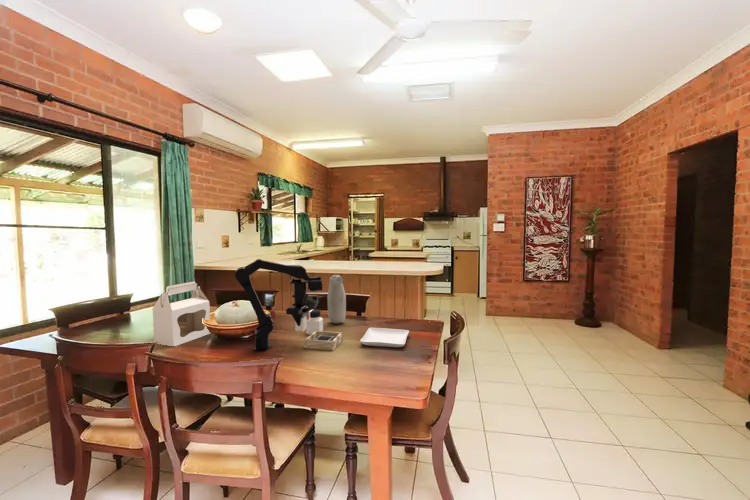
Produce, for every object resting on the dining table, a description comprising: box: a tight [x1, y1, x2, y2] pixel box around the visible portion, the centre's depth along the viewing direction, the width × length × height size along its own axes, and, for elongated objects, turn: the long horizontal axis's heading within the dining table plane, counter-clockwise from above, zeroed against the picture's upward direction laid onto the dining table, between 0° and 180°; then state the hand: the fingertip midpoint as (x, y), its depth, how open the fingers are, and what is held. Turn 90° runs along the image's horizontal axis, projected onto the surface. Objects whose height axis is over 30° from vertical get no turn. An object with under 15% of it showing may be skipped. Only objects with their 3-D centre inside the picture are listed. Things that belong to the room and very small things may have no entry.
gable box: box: [152, 280, 211, 347], centre depth 175 cm, size 22×13×28 cm, turn 158°
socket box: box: [303, 330, 343, 351], centre depth 166 cm, size 14×14×4 cm
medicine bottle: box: [305, 308, 324, 335], centre depth 184 cm, size 7×7×12 cm
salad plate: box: [359, 327, 410, 348], centre depth 170 cm, size 21×21×3 cm
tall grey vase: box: [327, 274, 347, 325], centre depth 200 cm, size 10×10×28 cm
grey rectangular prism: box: [294, 312, 308, 332], centre depth 166 cm, size 4×4×8 cm
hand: (300, 324), depth 166 cm, fingers closed on grey rectangular prism, 4 cm apart
